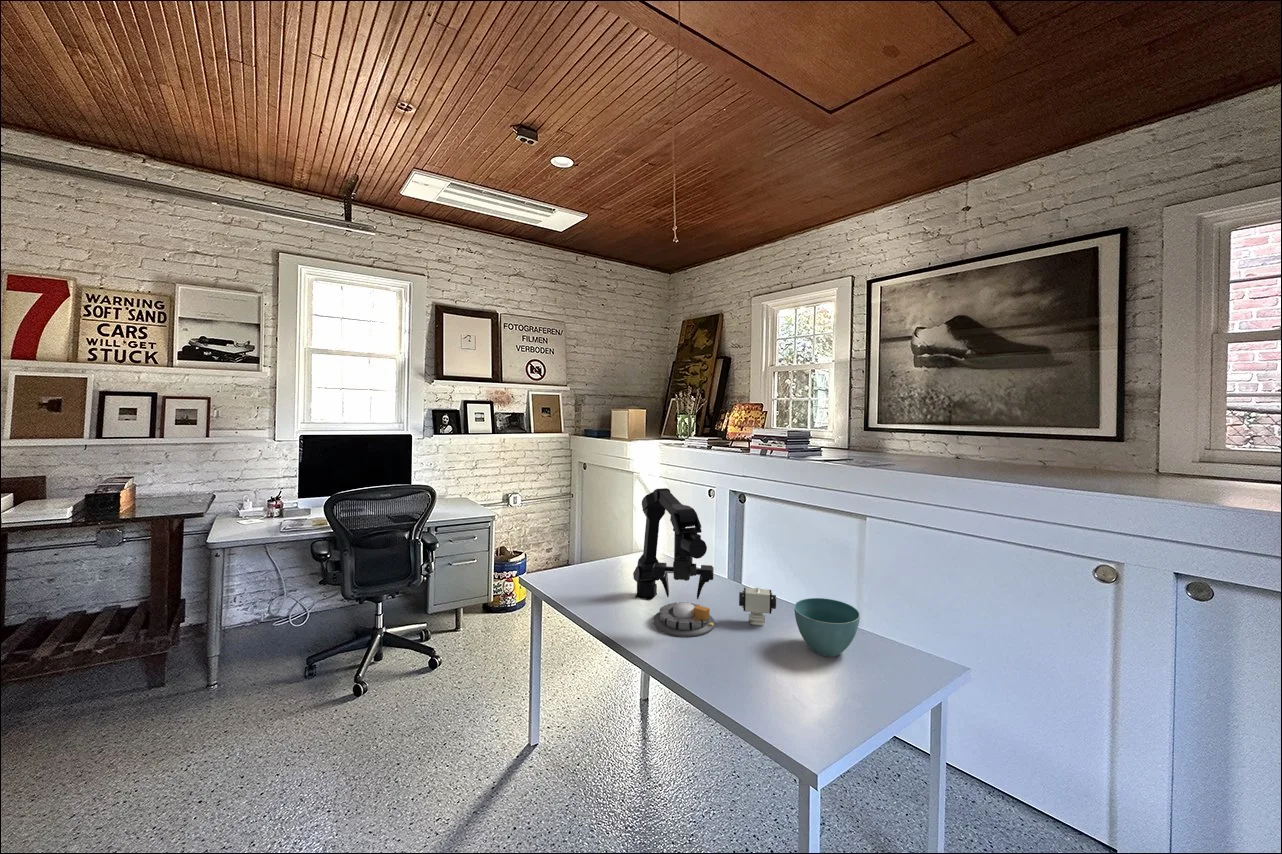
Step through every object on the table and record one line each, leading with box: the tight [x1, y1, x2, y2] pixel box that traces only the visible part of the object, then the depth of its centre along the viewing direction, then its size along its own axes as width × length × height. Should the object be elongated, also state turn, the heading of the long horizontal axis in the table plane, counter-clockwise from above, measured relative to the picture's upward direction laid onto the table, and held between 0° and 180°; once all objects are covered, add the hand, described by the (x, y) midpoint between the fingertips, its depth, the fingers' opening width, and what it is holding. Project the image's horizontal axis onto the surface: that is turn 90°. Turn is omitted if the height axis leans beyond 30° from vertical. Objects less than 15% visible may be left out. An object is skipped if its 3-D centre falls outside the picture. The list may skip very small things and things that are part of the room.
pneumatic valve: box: [738, 587, 777, 627], centre depth 174 cm, size 6×12×12 cm, turn 78°
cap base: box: [652, 602, 715, 638], centre depth 173 cm, size 20×20×6 cm
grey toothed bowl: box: [658, 602, 711, 631], centre depth 173 cm, size 16×17×5 cm
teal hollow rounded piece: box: [793, 597, 861, 658], centre depth 156 cm, size 18×18×12 cm
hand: (682, 597), depth 165 cm, fingers open, 9 cm apart
